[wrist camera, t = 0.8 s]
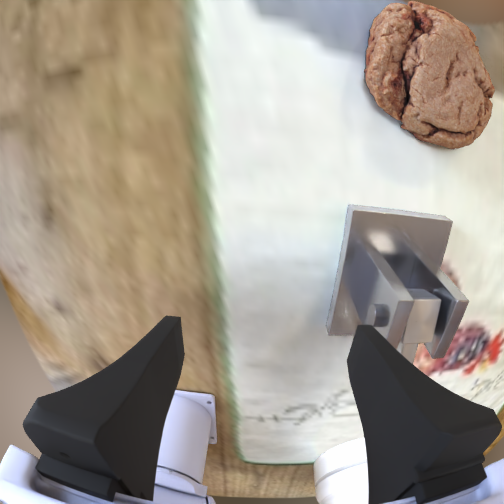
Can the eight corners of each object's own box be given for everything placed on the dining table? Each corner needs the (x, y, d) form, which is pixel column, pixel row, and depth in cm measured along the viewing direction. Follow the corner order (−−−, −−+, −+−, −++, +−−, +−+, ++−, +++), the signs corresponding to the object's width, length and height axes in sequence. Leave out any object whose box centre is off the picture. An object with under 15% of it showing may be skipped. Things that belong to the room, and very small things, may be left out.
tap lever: (390, 419, 20) (401, 439, 18) (360, 422, 20) (369, 443, 18) (425, 288, 18) (445, 299, 16) (392, 287, 18) (409, 299, 16)
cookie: (437, 175, 19) (459, 185, 16) (328, 67, 17) (338, 59, 14) (501, 88, 16) (525, 89, 13) (407, -18, 13) (425, -31, 10)
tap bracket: (412, 325, 24) (444, 385, 18) (325, 326, 24) (342, 394, 18) (445, 215, 20) (502, 257, 14) (348, 204, 20) (386, 248, 14)
